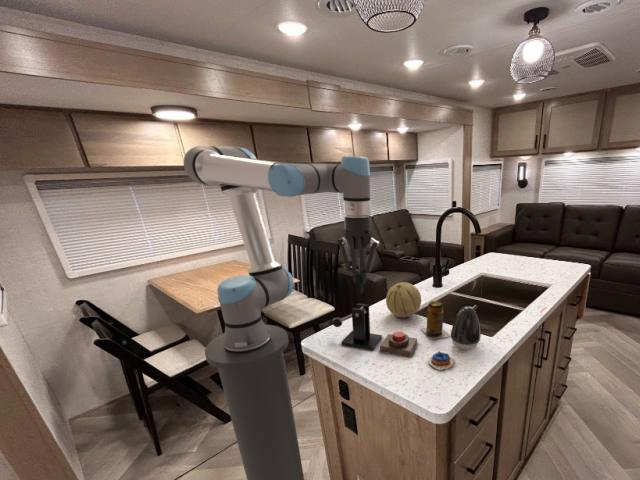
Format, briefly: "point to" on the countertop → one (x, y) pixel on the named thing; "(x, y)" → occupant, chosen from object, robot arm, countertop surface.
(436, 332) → the condiment
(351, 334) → the bracket
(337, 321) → the lever
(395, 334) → the button
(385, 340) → the button block
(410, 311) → the cantaloupe
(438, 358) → the dessert
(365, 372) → the countertop surface
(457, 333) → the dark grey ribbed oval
